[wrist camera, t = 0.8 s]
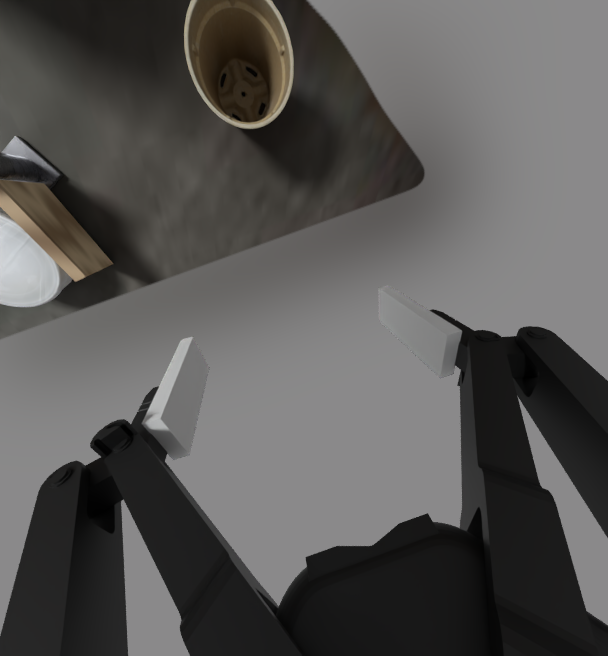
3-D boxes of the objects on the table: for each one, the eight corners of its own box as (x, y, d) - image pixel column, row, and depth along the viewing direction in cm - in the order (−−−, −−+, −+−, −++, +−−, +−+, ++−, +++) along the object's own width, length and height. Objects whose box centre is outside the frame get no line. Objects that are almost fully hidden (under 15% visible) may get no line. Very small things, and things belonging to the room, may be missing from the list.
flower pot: (281, 150, 31) (291, 135, 24) (207, 140, 29) (192, 120, 22) (283, 50, 27) (297, -8, 19) (196, 29, 25) (173, -43, 17)
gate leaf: (34, 188, 27) (-22, 185, 22) (44, 183, 27) (-9, 178, 22) (105, 267, 33) (75, 281, 27) (114, 263, 33) (85, 276, 27)
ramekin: (-25, 187, 27) (-80, 185, 23) (91, 234, 31) (65, 239, 27) (-23, 273, 31) (-70, 286, 26) (80, 304, 35) (55, 319, 31)
